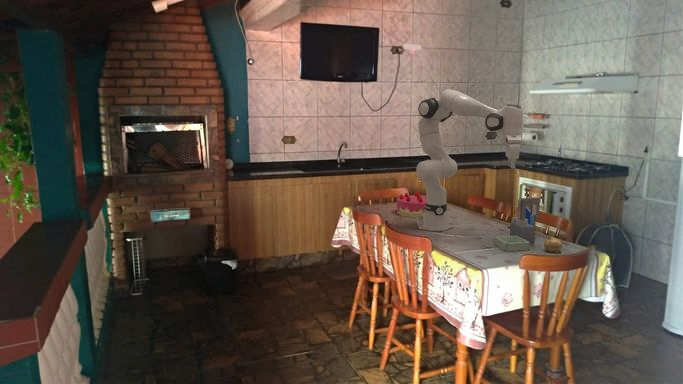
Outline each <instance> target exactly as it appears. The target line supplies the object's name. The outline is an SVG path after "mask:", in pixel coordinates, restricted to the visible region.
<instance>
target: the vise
mask: <svg viewBox="0 0 683 384" xmlns="http://www.w3.org/2000/svg"><path fill="white" fill-rule="evenodd" d="M507 229H509V236H519V237H521V238H522V239H524V240H526V241H528V242H530V246H532V245H535V243H536V241H535V239H536V226H535V227H534V226H532V225H530V224H528V219H525V220H520V219H517V216H516V217H511V221H510V223H509V226H507Z"/></svg>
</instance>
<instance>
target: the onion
mask: <svg viewBox="0 0 683 384" xmlns="http://www.w3.org/2000/svg"><path fill="white" fill-rule="evenodd" d="M543 247H544V250H545V251H547V252H551V253H555V254H556V253H559V252H561V250H562V249H563V244H562V241H561V240H559V239H558V238H555V237H554V236H548V237H547V239H546V240H544V244H543Z"/></svg>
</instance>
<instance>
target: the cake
mask: <svg viewBox="0 0 683 384" xmlns="http://www.w3.org/2000/svg"><path fill="white" fill-rule="evenodd" d="M425 204H426V195H421V194H420V193H419V192H418V191H415V194H414V195H409V193H408V192H405V193H404V194H400V195H399V197H398V196H397V198H396V209H397V211H396V213H398V214H400V215H403V216H402V217H404V216H407V217H406V218H410V217H415V218H414V219H419V216H421V214H422V213H423V211H424V210H425ZM398 214H397V215H398ZM400 215H399V216H400Z"/></svg>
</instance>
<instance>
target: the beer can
mask: <svg viewBox="0 0 683 384" xmlns="http://www.w3.org/2000/svg"><path fill="white" fill-rule="evenodd" d="M533 216H534V215H530V208H528V207H526V215H525V219H528V224H530V225H532V226H534V227H535V228H536V226H535V224H536V220H535V219H533Z"/></svg>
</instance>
